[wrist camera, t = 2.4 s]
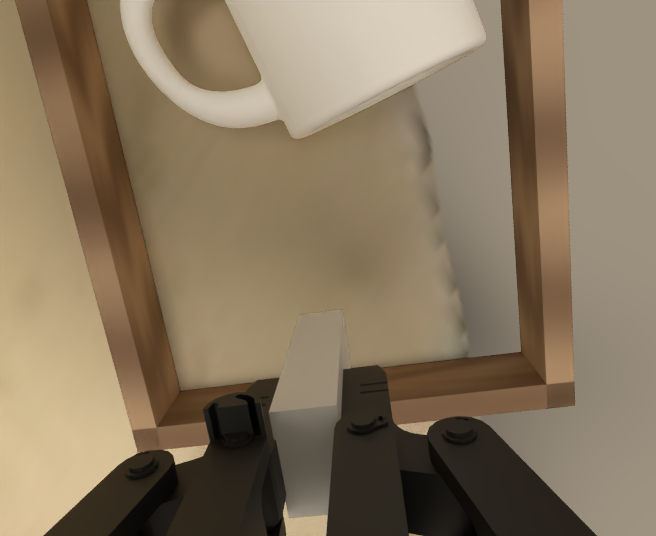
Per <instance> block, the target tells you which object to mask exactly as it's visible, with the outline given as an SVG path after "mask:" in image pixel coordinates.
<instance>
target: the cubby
mask: <svg viewBox="0 0 656 536" xmlns="http://www.w3.org/2000/svg"><path fill="white" fill-rule="evenodd" d="M15 2H16V5H17V9H18V13H19V17H20V20H21V24H22V28H23V31H24V35H25V39H26V42H27V46H28V50H29V53H30V57H31V61H32V64H33V68H34V72H35V75H36V79H37V83H38V86H39V90H40V94H41V97H42V101H43V105H44V108H45V112H46V116H47V120H48V123H49V127H50V131H51V134H52V138H53V142H54V145H55V149H56V153H57V156H58V160H59V164H60V167H61V171H62V175H63V178H64V182H65V186H66V189H67V193H68V197H69V200H70V204H71V208H72V211H73V215H74V219H75V222H76V226H77V230H78V234H79V237H80V241H81V245H82V248H83V252H84V256H85V259H86V263H87V267H88V270H89V274H90V278H91V281H92V285H93V289H94V292H95V296H96V300H97V303H98V307H99V311H100V314H101V318H102V322H103V325H104V329H105V333H106V336H107V340H108V344H109V348H110V351H111V355H112V359H113V362H114V366H115V370H116V373H117V377H118V381H119V384H120V388H121V392H122V395H123V399H124V403H125V406H126V410H127V414H128V417H129V421H130V425H131V428H132V432H133V436H134V439H135V443H136V447H137V450H138V452H144V451H148V450H164V449H173V448H182V447H192V446H201V445H209V443H210V440H209V435H208V431H207V426H206V422H205V417H204V413H203V409H204V407H205V406H206V405H207V404H208V403H210V402H211V401H213V400H215V399H216V398H219V397H221V396H224V395H226V394H231V393H236V392H246V390H247V389H248V388H249V387H250V386H252V385H253V384H254V383H248V384H240V385H231V386H222V387H214V388H205V389H197V390H188V391H180V388H179V384H178V380H177V376H176V371H175V367H174V363H173V359H172V355H171V351H170V347H169V342H168V338H167V334H166V330H165V326H164V322H163V317H162V313H161V309H160V305H159V301H158V297H157V293H156V288H155V284H154V280H153V276H152V272H151V268H150V263H149V259H148V255H147V251H146V247H145V243H144V239H143V234H142V230H141V226H140V222H139V218H138V214H137V209H136V205H135V201H134V197H133V193H132V189H131V185H130V180H129V176H128V172H127V168H126V164H125V160H124V155H123V151H122V147H121V143H120V139H119V135H118V130H117V126H116V122H115V118H114V114H113V110H112V106H111V101H110V97H109V93H108V89H107V85H106V81H105V76H104V72H103V68H102V64H101V60H100V56H99V52H98V47H97V43H96V39H95V35H94V31H93V27H92V22H91V18H90V14H89V10H88V6H87V2H86V0H15ZM501 15H502V32H503V48H504V66H505V84H506V99H507V100H506V101H507V118H508V133H509V134H508V135H509V152H510V168H511V185H512V203H513V220H514V238H515V255H516V271H517V289H518V305H519V322H520V339H521V352H517V353H508V354H500V355H491V356H482V357H474V358H465V359H456V360H447V361H439V362H430V363H421V364H413V365H404V366H395V367H387V368H381V369H383V370H384V371H385V372H386V375H387V383H388V390H389V397H390V404H391V411H392V418H393V421H394V423H395V424H396V425H398V424H407V423H417V422H426V421H435V420H442V419H445V418H449V417H454V416H462V417H463V416H466V417H473V416H482V415H492V414H500V413H510V412H519V411H529V410H538V409H548V408H557V407H566V406H575V391H574V390H575V389H574V358H573V357H574V356H573V329H572V328H573V324H572V295H571V293H572V292H571V262H570V230H569V229H570V228H569V199H568V169H567V168H568V166H567V133H566V103H565V102H566V101H565V70H564V37H563V5H562V0H501Z"/></svg>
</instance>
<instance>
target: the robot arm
mask: <svg viewBox="0 0 656 536" xmlns="http://www.w3.org/2000/svg"><path fill="white" fill-rule="evenodd" d="M203 413H204V417H205V422H206V426H207V431H208V435H209V440H210V443H209V445H208V447H207V449H206V452H205V454H204V456H203V457H200V458H197V459H194V460H191V461H188V462H184V463H181V464H177V465H175V462H174V458H173V455H172V454H171V453H170V452H169V451H164V450H148V451H144V452H140V453H137V454H136V455H134V456H132V457H130V458H128V459H126V460H125V461H124V462H122V463H121V464H120V465H118V466H117V467H116V468H115V469H114V470H113V471H112V472H111V473H110V474H108V475H107V476H106V477H105V478H104V479H103V480H102V481H101V482H100V483H99V484H98V485H97V486H96V487H95V488H94V489H93V490H91V491H90V492H89V493H88V494H87V495H86V496H85V497H84V498H83V499H82V500H81V501H80V502H79V503H78V504H77V505H76V506H74V507H73V508H72V509H71V510H70V511H69V512H68V513H67V514H66V515H65V516H64V517H63V518H62V519H61V520H60V521H59V522H58V523H56V524H55V525H54V526H53V527H52V528H51V529H50V530H49V531H48V532H47V533H46V534H45V535H44V536H286V529H285V523H284V517H283V509H284V504H285V500H286V505H287V510H288V515H289V518H297V517H308V516H319V515H328V520H327V534H326V536H409V533H411V534H416V535H422V536H597V535H595V533H594V532H593V531H592V530H591V529H590V528H589V527H588V526H587V525H586V524H585V523H584V522H583V521H582V520H581V519H580V518H579V517H578V516H577V515H576V514H575V513H574V512H573V511H572V510H571V509H570V508H569V507H568V506H567V505H566V504H565V503H564V502H563V501H562V500H561V499H560V498H559V497H558V496H557V495H556V494H555V493H554V492H553V491H552V490H551V489H550V487H549V486H547V484H546V483H545V482H544V481H543V480H542V479H541V478H540V477H539V476H538V475H537V474H536V473H535V472H534V471H533V470H532V469H531V468H530V467H529V466H528V465H527V464H526V463H525V462H524V461H523V460H522V459H521V458H520V457H519V456H518V455H517V454H516V453H515V452H514V451H513V450H512V449H511V448H510V447H509V446H508V444H506V442H505V441H504V440H503V439H502V438H501V437H500V436H499V435H498V434H497V433H496V432H495V431H494V430H493V429H492V428H491V427H490V426H489V425H487V424H486V423H484V422H483V421H481V420H478V419H475V418H471V417H466V416H463V417H462V416H454V417H449V418H445V419H442V420H439V421H437V422H435V423H434V424H433V425H432V426H430V427H429V430H428V433H427V435H420V434H414V433H410V432H407V431H404V430H402V429H401V428H399V427H398V426H397V425H396V424H395V423H394V421H393V418H392V411H391V404H390V397H389V390H388V383H387V375H386V372H385V371H384V370H383V369H381V368H380V367H379V366H378V365H376V366H367V367H358V368H351V363H350V356H349V349H348V342H347V335H346V329H345V322H344V315H343V309H339V310H331V311H323V312H315V313H307V314H299V317H298V321H297V324H296V327H295V330H294V333H293V337H292V340H291V343H290V346H289V349H288V353H287V356H286V359H285V362H284V365H283V369H282V372H281V375H280V378H274V379H265V380H257V381H256V382H255V383H254V384H253V385H252V386H250V387H249V388H248V389H247V390H246V392H236V393H231V394H226V395H224V396H221V397H219V398H216V399H215V400H213V401H211V402H210V403H208V404H207V405H206V406H205V407H204V409H203Z"/></svg>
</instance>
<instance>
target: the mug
mask: <svg viewBox="0 0 656 536" xmlns="http://www.w3.org/2000/svg"><path fill="white" fill-rule="evenodd" d="M154 1H155V0H120V13H121V20H122V25H123V29H124V32H125V35H126V38H127V41H128V43H129V45H130V48H131V50H132V52H133V54H134V55H135V57H136V59H137V61H138V62H139V64H140V65H141V67H142V68H143V70H144V71H145V73H146V74H147V75H148V77H149V78H150V79H151V80H152V82H153V83H154V84H155V85H156V86H157V87H158V88H159V89H160V90H161V92H162V93H163V94H164V95H166V96H167V97H168V98H169V99H170V100H171V101H172V102H173V103H175V104H176V105H177V106H179V107H180V108H181V109H183V110H184V111H186V112H187V113H189V114H190V115H192V116H194V117H196V118H198V119H200V120H202V121H204V122H207V123H210V124H213V125H216V126H221V127H227V128H248V127H254V126H259V125H263V124H267V123H270V122H273V121H276V120H282V121H283V122H284V123H285V125H286V127H287V129H288V131H289V134H290V135H291V137H292V138H294V139H301V138H304V137H307V136H309V135H311V134H314V133H316V132H318V131H320V130H323V129H325V128H327V127H329V126H331V125H333V124H335V123H337V122H339V121H342V120H344V119H346V118H348V117H350V116H352V115H354V114H356V113H358V112H360V111H362V110H364V109H366V108H368V107H370V106H372V105H374V104H376V103H378V102H380V101H382V100H384V99H386V98H388V97H390V96H392V95H394V94H396V93H398V92H400V91H401V90H403V89H405V88H407V87H409V86H411V85H413V84H415V83H417V82H419V81H421V80H423V79H424V78H426V77H428V76H430V75H432V74H434V73H436V72H437V71H439V70H441V69H443V68H445V67H446V66H449V65H450V64H452V63H454V62H456V61H457V60H459V59H461V58H463V57H465V56H466V55H468V54H470V53H471V52H473V51H475V50H476V49H478V48H479V47H481V46H482V45H483V44H484V43H485V41H486V32H485V30H484V27H483V25H482V22H481V19H480V17H479V14H478V12H477V9H476V7H475V4H474V1H473V0H225V2H226V4H227V7H228V9H229V11H230V13H231V15H232V17H233V19H234V21H235V23H236V25H237V27H238V29H239V31H240V33H241V35H242V37H243V39H244V41H245V43H246V45H247V47H248V50H249V52H250V54H251V56H252V58H253V60H254V62H255V64H256V66H257V68H258V70H259V72H260V74H261V80H260V82H259V83H258V84H256V85H253V86H250V87H247V88H243V89H239V90H233V91H209V90H204V89H201V88H198V87H196V86H194V85H192V84H191V83H189V82H188V81H187V80H185V79H184V78H183V77H182V76H181V75H180V74H179V73H178V71H177V70H176V69H175V68H174V66H173V65H172V64H171V62H170V61H169V59H168V58H167V56H166V55H165V53H164V51H163V50H162V48H161V46H160V44H159V42H158V39H157V37H156V34H155V32H154V28H153V23H152V8H153V4H154Z"/></svg>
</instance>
